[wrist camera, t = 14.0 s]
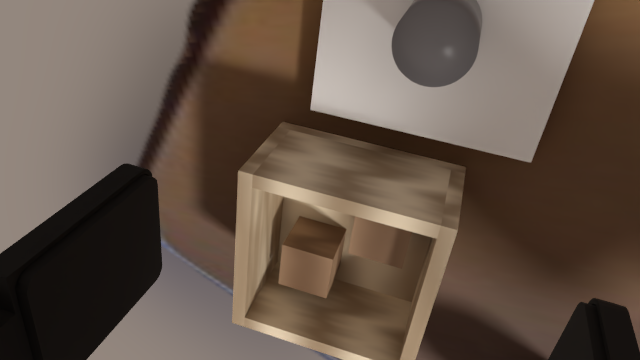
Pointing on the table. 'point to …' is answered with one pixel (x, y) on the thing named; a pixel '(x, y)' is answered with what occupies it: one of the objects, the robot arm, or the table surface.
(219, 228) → the table surface
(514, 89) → the lid
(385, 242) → the walnut block
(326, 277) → the walnut block
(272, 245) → the storage box
